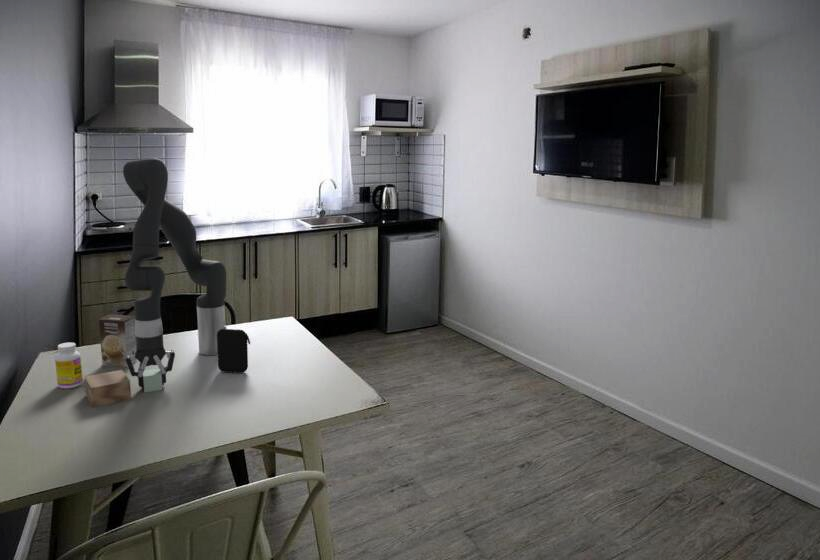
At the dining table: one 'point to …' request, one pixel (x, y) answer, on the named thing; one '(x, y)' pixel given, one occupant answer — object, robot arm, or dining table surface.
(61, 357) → the supplement bottle
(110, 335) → the coffee box
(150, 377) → the sage cube
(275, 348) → the dining table surface
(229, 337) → the carrying case or bag
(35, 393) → the dining table surface
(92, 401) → the walnut block
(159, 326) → the robot arm
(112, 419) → the dining table surface
